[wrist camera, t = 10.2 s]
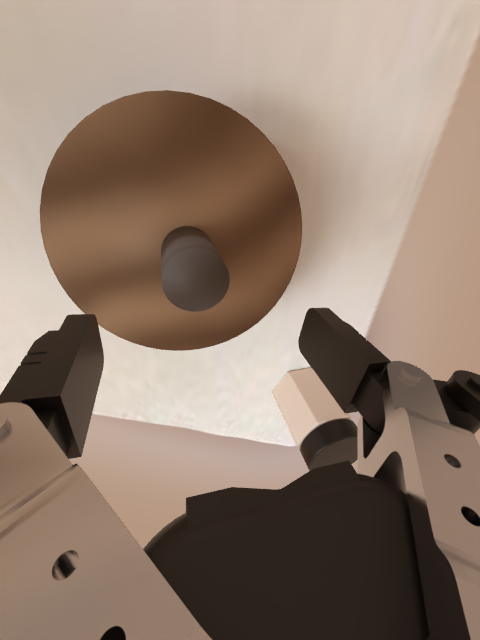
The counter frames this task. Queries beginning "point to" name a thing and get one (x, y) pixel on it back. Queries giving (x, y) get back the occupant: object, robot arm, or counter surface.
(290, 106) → the counter surface
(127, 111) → the walnut lid
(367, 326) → the counter surface
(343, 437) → the jar
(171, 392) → the counter surface
